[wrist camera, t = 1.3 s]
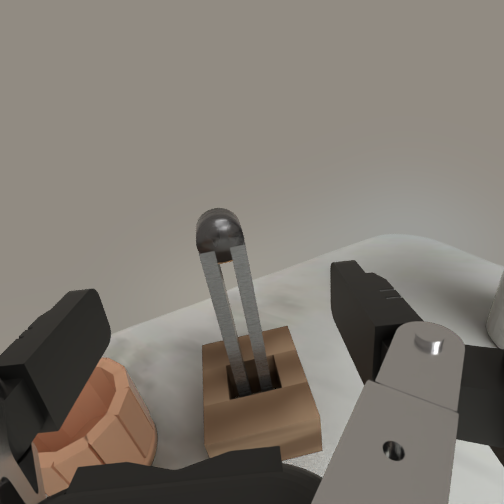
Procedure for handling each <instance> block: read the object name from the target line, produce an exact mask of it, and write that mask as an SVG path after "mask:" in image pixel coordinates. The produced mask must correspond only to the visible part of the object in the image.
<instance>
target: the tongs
mask: <svg viewBox="0 0 504 504" xmlns="http://www.w3.org/2000/svg"><path fill="white" fill-rule="evenodd" d="M196 245H197V249H198V251H199V256H200V260H201V263H202V267H203V270H204V274H205V277H206V281H207V284H208V288H209V292H210V295H211V299H212V302H213V306H214V309H215V313H216V316H217V320H218V323H219V327H220V330H221V334H222V337H223V341H224V344H225V348H226V351H227V355H228V358H229V362H230V365H231V369H232V372H233V376H234V379H235V383H236V386H237V390H238V393H239V397H240V398H241V397H245V396H249V395H252V392H251V388H250V384H249V380H248V376H247V372H246V368H245V364H244V360H243V356H242V352H241V348H240V343H239V339H238V335H237V331H236V327H235V323H234V319H233V315H232V311H231V307H230V303H229V299H228V295H227V291H226V287H225V284H224V279H223V275H222V271H221V267H220V264H222V263H227V262H231V261H233V263H234V269H235V273H236V278H237V282H238V287H239V291H240V296H241V300H242V305H243V309H244V314H245V319H246V323H247V328H248V332H249V337H250V341H251V346H252V350H253V355H254V359H255V364H256V368H257V373H258V377H259V382H260V386H261V391H262V392H266V391H270V390H273V388H272V383H271V378H270V372H269V367H268V362H267V357H266V351H265V346H264V341H263V336H262V330H261V325H260V320H259V314H258V309H257V304H256V299H255V293H254V288H253V283H252V277H251V272H250V267H249V262H248V257H247V251H246V246H245V242H244V236H243V232H242V229H241V225H240V222H239V220H238V218H237V216H236V215H235V214H234V213H232V212H231V211H229V210H227V209H223V208H215V209H211V210H208V211H206V212H205V213H204V214H202V215H201V217H200V218H199V220H198V222H197V226H196ZM262 392H261V393H262ZM257 394H258V393H257Z"/></svg>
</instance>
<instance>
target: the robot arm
mask: <svg viewBox="0 0 504 504" xmlns="http://www.w3.org/2000/svg"><path fill="white" fill-rule="evenodd" d="M330 272H331V310H332V315H333V319H334V321H335V323H336V326H337V328H338V330H339V332H340V334H341V336H342V339H343V341H344V343H345V345H346V347H347V349H348V351H349V354H350V356H351V358H352V360H353V362H354V364H355V366H356V369H357V371H358V373H359V375H360V377H361V379H362V382H363V384H364V388H363V390H362V392H361V394H360V396H359V399H358V401H357V403H356V405H355V407H354V410H353V412H352V414H351V416H350V419H349V421H348V423H347V425H346V427H345V430H344V432H343V434H342V436H341V438H340V441H339V443H338V445H337V447H336V450H335V452H334V454H333V456H332V458H331V461H330V463H329V465H328V467H327V469H326V472H325V474H324V476H323V478H322V477H320V476H319V475H317V474H315V473H312V472H310V471H308V470H306V469H303V468H300V467H297V466H294V465H290V464H284V463H282V460H281V451H280V446H272V447H262V448H253V449H244V450H234V451H228V452H226V453H223V454H220V455H218V456H215V457H212V458H209V459H207V460H204V461H201V462H198V463H196V464H193V465H190V466H188V467H185V468H182V469H179V470H169V469H164V468H158V467H153V466H147V465H142V464H136V463H131V462H121V463H111V464H102V465H92V466H83V467H78V468H77V470H76V472H75V474H74V476H73V478H72V481H71V483H70V485H69V487H68V488H66V489H64V490H62V491H60V492H58V493H56V494H53V495H51V496H49V497H48V498H46V496H45V490H44V484H43V478H42V473H41V467H40V461H39V455H38V450H37V447H36V445H35V443H34V441H33V440H34V438H35V437H36V435H37V434H38V433H46V432H55V431H59V430H60V428H61V426H62V424H63V423H64V421H65V419H66V418H67V416H68V414H69V412H70V411H71V409H72V407H73V405H74V404H75V402H76V400H77V399H78V397H79V395H80V393H81V392H82V390H83V388H84V386H85V385H86V383H87V381H88V380H89V378H90V376H91V374H92V373H93V371H94V369H95V367H96V366H97V364H98V362H99V361H100V359H101V357H102V355H103V354H104V352H105V350H106V348H107V347H108V345H109V342H110V338H111V330H110V325H109V322H108V320H107V317H106V314H105V311H104V308H103V305H102V303H101V299H100V297H99V294H98V292H97V291H96V290H95V289H85V290H76V291H69V292H68V293H67V294H66V295H65V296H64V297H63V298H62V299H61V300H60V301H59V302H58V303H57V304H56V305H55V306H54V307H53V308H52V309H51V310H49V311H48V312H46V313H44V314H43V315H41V316H40V317H38V318H37V319H36V320H35V321H34V322H33V323H32V324H31V325H30V326H29V327H28V330H25V331H24V332H23V333H22V334H21V335H20V336H19V339H16V340H15V341H14V342H13V343H12V344H11V345H10V346H9V347H8V348H7V349H6V350H5V351H4V352H3V353H2V354H1V355H0V504H448V501H449V493H450V484H451V476H452V468H453V460H454V451H455V443H456V439H458V440H463V441H468V442H473V443H479V444H484V445H489V446H490V448H491V449H492V451H493V452H494V453H495V455H496V456H497V458H498V459H499V461H500V462H501V464H502V465H503V466H504V271H503V274H502V277H501V280H500V283H499V286H498V289H497V292H496V295H495V298H494V301H493V304H492V307H491V310H490V313H489V316H488V319H487V324H486V327H487V332H488V334H489V336H490V338H491V339H492V341H493V342H494V343H495V344H496V345H497V346H498V347H499V348H500V349H497V348H488V347H479V346H471V345H465V344H464V342H463V341H462V339H461V338H460V337H459V336H458V335H457V334H456V333H454V332H453V331H451V330H450V329H448V328H446V327H443V326H441V325H438V324H434V323H430V322H424V321H423V320H422V319H421V318H420V317H419V316H418V314H417V313H416V312H415V311H414V310H413V309H412V308H411V307H410V306H409V304H408V303H407V302H406V301H405V300H404V299H403V298H401V296H400V295H399V293H398V292H397V291H396V290H394V288H393V287H392V286H391V285H390V283H389V282H388V281H387V280H386V279H384V278H382V277H380V276H378V275H376V274H374V273H365V272H364V271H363V269H362V268H361V267H360V266H359V264H358V263H357V262H356V261H355V260H351V261H342V262H333V263H332V264H331V271H330Z"/></svg>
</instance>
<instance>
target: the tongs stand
mask: <svg viewBox="0 0 504 504" xmlns="http://www.w3.org/2000/svg"><path fill="white" fill-rule="evenodd" d="M262 336H263V341H264V346H265V351H266V357H267V362H268V367H269V372H270V378H271V383H272V388H278V387H279V389H274V390H270V391H266V392H262V393H258V394H253V395H249V396H245V397H241V398H237V399H235V398H236V397H239V393H238V390H237V386H236V383H235V379H234V376H233V372H232V369H231V365H230V362H229V358H228V355H227V351H226V348H225V344H224V341H219V342H214V343H210V344H205V345H202V361H203V405H204V446H205V448H206V450H207V453H208V455H209V457H210V458H212V457H215V456H218V455H220V454H223V453H226V452H228V451H234V450H244V449H253V448H262V447H272V446H280V451H281V460H282V461H283V460H287V459H291V458H295V457H299V456H303V455H307V454H311V453H315V452H319V451H322V438H321V423H320V415H319V413H318V410H317V407H316V404H315V401H314V399H313V396H312V393H311V390H310V387H309V385H308V382H307V379H306V376H305V373H304V371H303V368H302V365H301V362H300V360H299V357H298V354H297V351H296V348H295V346H294V343H293V340H292V337H291V334H290V332H289V329H288V326H285V327H280V328H276V329H271V330H267V331H263V332H262ZM238 339H239V343H240V348H241V352H242V356H243V360H244V364H245V368H246V372H247V376H248V380H249V384H250V388H251V392H252V393H257V392H261V386H260V382H259V377H258V373H257V368H256V364H255V359H254V355H253V350H252V346H251V341H250V337H249V335H245V336H241V337H238Z"/></svg>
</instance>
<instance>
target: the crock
mask: <svg viewBox="0 0 504 504" xmlns="http://www.w3.org/2000/svg"><path fill="white" fill-rule="evenodd" d="M33 441H34V443H35V445H36V447H37V450H38V455H39V461H40V467H41V473H42V478H43V484H44V490H45V493H46V494H47V495H48V496H51V495H53V494H56V493H58V492H60V491H62V490H64V489H66V488H68V487H69V485H70V483H71V481H72V478H73V476H74V474H75V472H76V470H77V468H78V467H83V466H92V465H102V464H111V463H121V462H131V463H136V464H142V465H147V466H151V465H152V462H153V460H154V457H155V454H156V449H157V441H158V437H157V430H156V427H155V424H154V422H153V420H152V419H151V417H150V413H149V410H148V408H147V407H146V405H145V403H144V401H143V399H142V398H141V396H140V394H139V392H138V390H137V389H136V387H135V385H134V383H133V381H132V380H131V378H130V376H129V374H128V372H127V371H126V369H125V367H124V366H123V365H121V364H119V363H117V362H115V361H113V360H111V359H110V358H108V359H107V358H101V359H100V361H99V362H98V364H97V366H96V367H95V369H94V371H93V373H92V374H91V376H90V378H89V380H88V381H87V383H86V385H85V386H84V388H83V390H82V392H81V393H80V395H79V397H78V399H77V400H76V402H75V404H74V405H73V407H72V409H71V411H70V412H69V414H68V416H67V418H66V419H65V421H64V423H63V424H62V426H61V428H60V430H59V431H55V432H46V433H38V434H37V435H36V437H35V438H34V440H33Z"/></svg>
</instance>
